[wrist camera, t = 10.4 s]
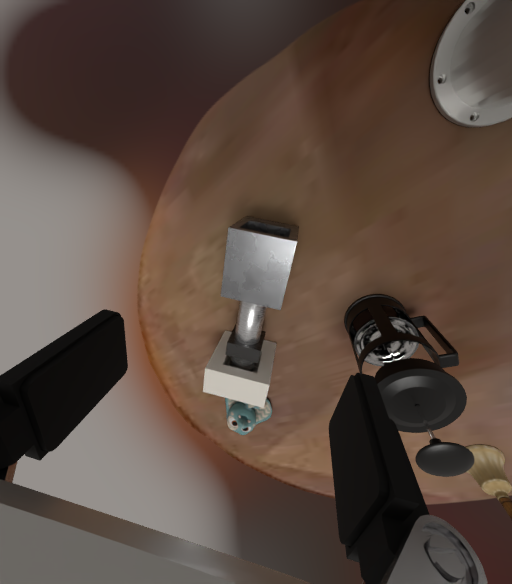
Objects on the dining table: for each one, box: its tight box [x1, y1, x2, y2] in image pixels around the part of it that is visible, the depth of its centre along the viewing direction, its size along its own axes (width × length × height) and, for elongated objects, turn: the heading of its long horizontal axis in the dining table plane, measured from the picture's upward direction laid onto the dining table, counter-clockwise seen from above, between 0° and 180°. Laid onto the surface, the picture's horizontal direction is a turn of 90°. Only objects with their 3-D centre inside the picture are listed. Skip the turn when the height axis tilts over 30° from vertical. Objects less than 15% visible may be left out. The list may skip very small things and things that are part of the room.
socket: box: [203, 330, 277, 408], centre depth 43 cm, size 5×10×10 cm, turn 81°
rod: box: [225, 301, 266, 372], centre depth 38 cm, size 19×5×5 cm, turn 170°
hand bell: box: [466, 445, 512, 519], centre depth 41 cm, size 8×8×16 cm
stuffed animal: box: [225, 398, 272, 435], centre depth 50 cm, size 11×7×12 cm
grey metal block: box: [221, 216, 299, 310], centre depth 34 cm, size 9×8×10 cm
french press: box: [344, 294, 475, 477], centre depth 30 cm, size 12×9×23 cm
